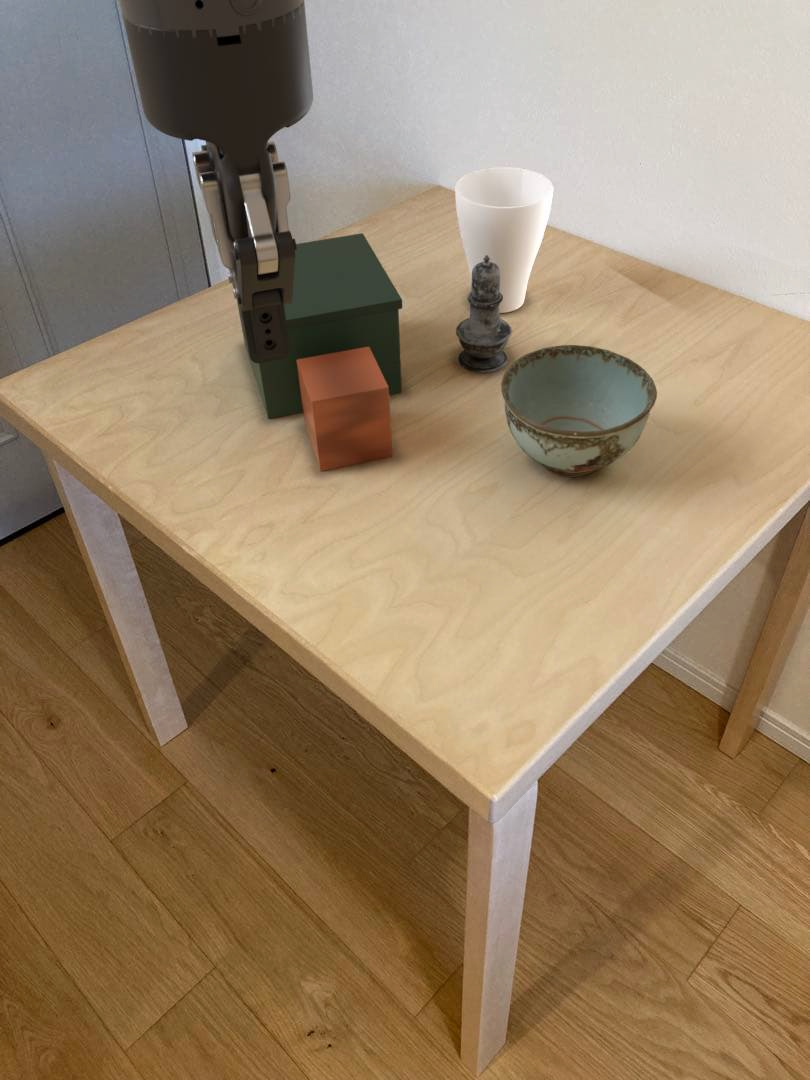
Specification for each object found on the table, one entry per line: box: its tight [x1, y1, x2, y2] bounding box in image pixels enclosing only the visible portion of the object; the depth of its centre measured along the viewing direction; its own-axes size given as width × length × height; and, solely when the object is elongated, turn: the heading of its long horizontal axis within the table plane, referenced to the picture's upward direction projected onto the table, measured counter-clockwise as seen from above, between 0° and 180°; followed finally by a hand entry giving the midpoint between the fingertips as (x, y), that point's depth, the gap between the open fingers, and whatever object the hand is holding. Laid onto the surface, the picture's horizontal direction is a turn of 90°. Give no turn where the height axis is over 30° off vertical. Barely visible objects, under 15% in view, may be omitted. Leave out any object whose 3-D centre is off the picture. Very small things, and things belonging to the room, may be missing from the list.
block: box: [297, 347, 393, 472], centre depth 84 cm, size 7×7×8 cm
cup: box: [454, 166, 554, 314], centre depth 100 cm, size 10×10×14 cm
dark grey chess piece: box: [455, 255, 513, 374], centre depth 92 cm, size 6×6×12 cm
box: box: [228, 232, 403, 420], centre depth 92 cm, size 15×15×11 cm
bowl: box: [500, 344, 658, 478], centre depth 81 cm, size 14×13×8 cm
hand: (268, 354), depth 49 cm, fingers closed
